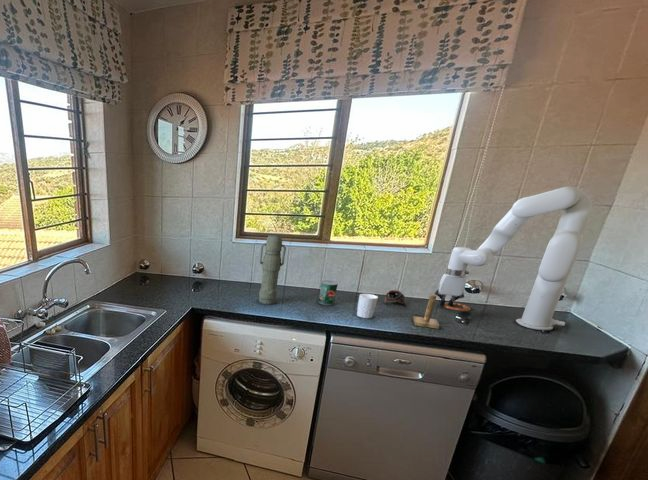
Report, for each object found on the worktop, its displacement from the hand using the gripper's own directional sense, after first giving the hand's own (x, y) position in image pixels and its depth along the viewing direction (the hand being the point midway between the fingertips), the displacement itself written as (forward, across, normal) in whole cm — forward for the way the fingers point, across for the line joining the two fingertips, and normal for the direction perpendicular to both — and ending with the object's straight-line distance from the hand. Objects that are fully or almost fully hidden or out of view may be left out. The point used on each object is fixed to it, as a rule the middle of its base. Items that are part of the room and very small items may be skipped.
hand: (445, 307), depth 205 cm
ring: (-1, -4, 0) cm, 5 cm away
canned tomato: (0, +55, +19) cm, 59 cm away
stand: (0, +12, +32) cm, 34 cm away
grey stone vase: (0, +83, +32) cm, 89 cm away
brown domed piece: (0, +23, +4) cm, 24 cm away
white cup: (0, +37, +33) cm, 50 cm away
